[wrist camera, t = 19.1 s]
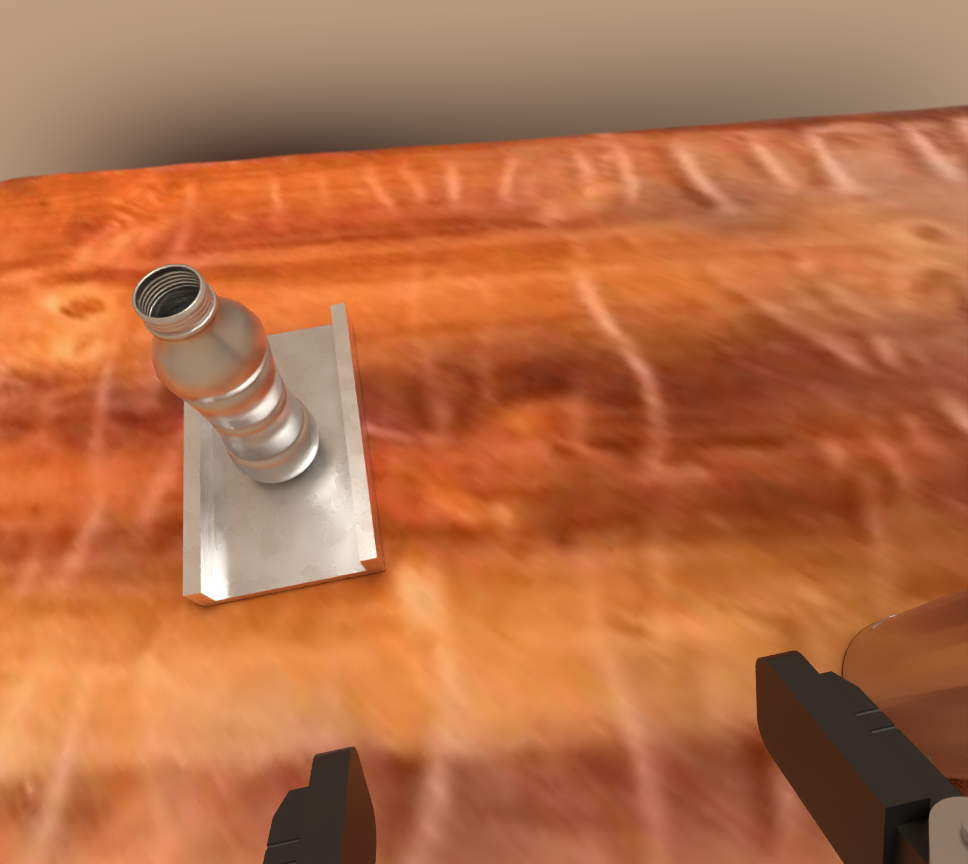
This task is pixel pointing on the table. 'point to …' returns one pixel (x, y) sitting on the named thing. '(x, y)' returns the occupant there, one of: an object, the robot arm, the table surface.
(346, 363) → the aluminium track
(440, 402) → the table surface
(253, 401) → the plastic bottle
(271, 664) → the table surface
